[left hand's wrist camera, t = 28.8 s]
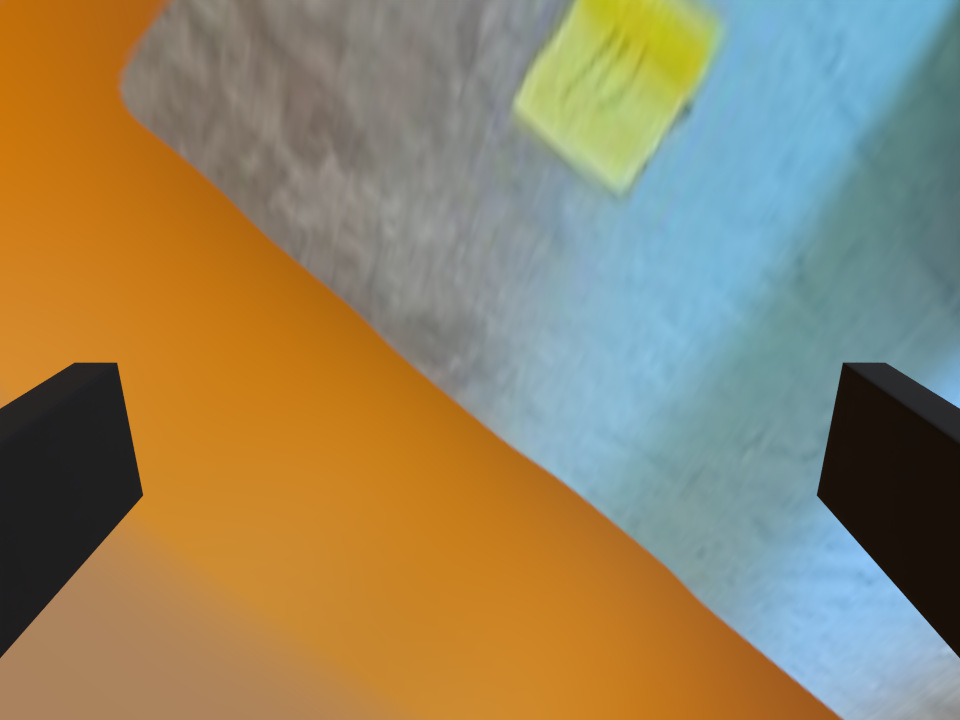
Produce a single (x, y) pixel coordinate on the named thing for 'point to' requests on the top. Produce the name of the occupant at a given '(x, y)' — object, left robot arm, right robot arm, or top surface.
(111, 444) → the left robot arm
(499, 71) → the top surface
